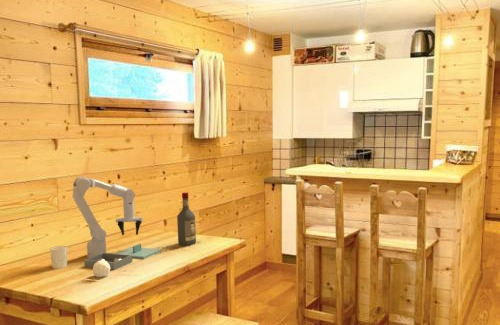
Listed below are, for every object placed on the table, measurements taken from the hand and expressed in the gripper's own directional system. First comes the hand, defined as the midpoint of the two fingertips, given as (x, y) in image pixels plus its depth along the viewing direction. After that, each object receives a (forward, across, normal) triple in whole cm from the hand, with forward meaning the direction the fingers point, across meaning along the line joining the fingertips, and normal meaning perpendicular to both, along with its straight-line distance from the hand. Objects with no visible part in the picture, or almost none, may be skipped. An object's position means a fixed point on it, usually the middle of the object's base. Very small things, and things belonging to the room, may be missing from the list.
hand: (130, 234), depth 255 cm
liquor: (+10, +30, +13) cm, 34 cm away
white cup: (+10, -30, -26) cm, 41 cm away
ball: (+10, -4, -44) cm, 46 cm away
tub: (+9, -5, -26) cm, 28 cm away
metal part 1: (+9, -9, -25) cm, 28 cm away
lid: (+9, +5, -8) cm, 13 cm away
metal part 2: (+9, -1, -26) cm, 27 cm away
